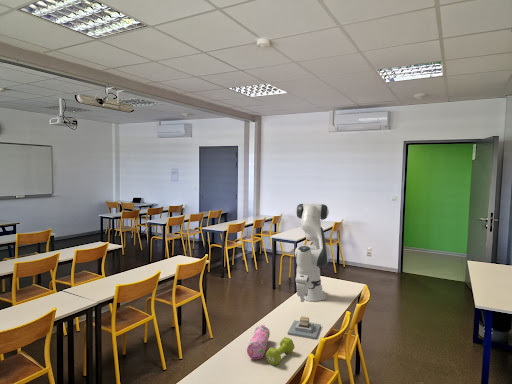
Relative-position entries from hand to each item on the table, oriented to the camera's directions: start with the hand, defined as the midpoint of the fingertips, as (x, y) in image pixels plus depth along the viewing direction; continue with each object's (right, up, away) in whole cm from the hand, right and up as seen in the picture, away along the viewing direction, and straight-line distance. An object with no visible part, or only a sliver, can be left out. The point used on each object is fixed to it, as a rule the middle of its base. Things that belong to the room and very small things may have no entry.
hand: (304, 298), depth 188 cm
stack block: (0, -18, +1) cm, 18 cm away
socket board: (0, -19, +1) cm, 19 cm away
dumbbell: (-16, -21, -26) cm, 37 cm away
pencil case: (-26, -21, -19) cm, 38 cm away
